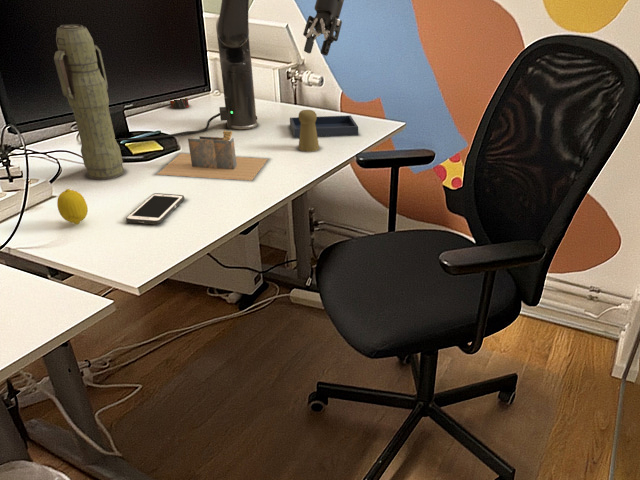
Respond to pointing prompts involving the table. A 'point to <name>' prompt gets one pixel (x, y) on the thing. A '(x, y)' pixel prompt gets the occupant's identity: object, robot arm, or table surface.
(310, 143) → the cork
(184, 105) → the black red jagged block
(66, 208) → the lemon
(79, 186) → the table surface
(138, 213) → the cell phone
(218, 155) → the architectural model on board
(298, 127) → the pan
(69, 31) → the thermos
